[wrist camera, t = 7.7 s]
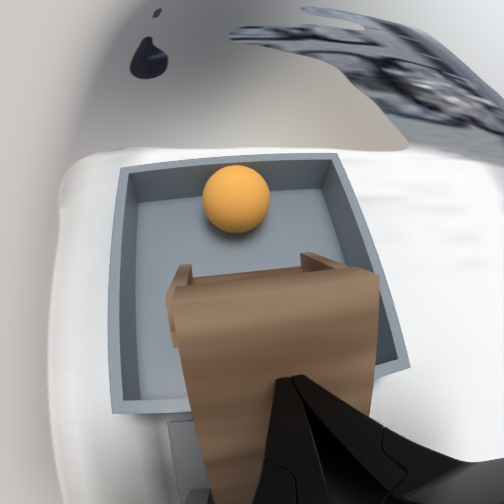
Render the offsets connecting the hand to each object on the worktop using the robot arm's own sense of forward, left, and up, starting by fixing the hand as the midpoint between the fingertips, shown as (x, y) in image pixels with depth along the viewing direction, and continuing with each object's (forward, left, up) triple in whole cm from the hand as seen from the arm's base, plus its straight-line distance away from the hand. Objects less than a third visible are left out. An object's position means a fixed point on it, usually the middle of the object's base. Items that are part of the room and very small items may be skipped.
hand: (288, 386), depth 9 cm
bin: (+7, 0, -8) cm, 10 cm away
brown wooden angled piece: (-4, 0, -8) cm, 9 cm away
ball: (+11, 0, -5) cm, 12 cm away
